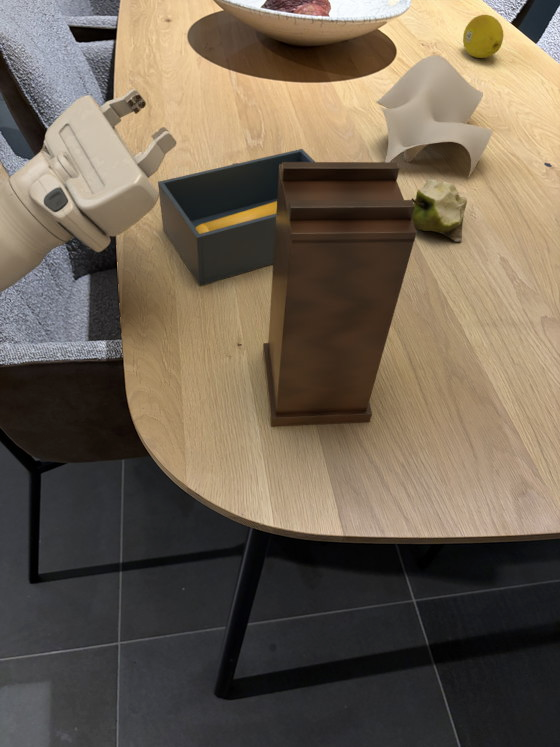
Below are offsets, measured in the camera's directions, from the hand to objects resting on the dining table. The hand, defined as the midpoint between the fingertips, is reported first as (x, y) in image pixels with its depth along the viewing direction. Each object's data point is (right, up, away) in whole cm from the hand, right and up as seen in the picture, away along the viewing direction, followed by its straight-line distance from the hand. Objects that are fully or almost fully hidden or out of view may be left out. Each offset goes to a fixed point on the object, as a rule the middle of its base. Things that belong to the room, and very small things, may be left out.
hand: (155, 114), depth 66 cm
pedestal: (+18, -30, +3) cm, 35 cm away
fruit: (+36, -6, +25) cm, 45 cm away
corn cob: (+10, -9, +19) cm, 23 cm away
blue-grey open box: (+10, -9, +20) cm, 24 cm away
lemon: (+57, +41, +66) cm, 97 cm away
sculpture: (+40, +13, +41) cm, 59 cm away
